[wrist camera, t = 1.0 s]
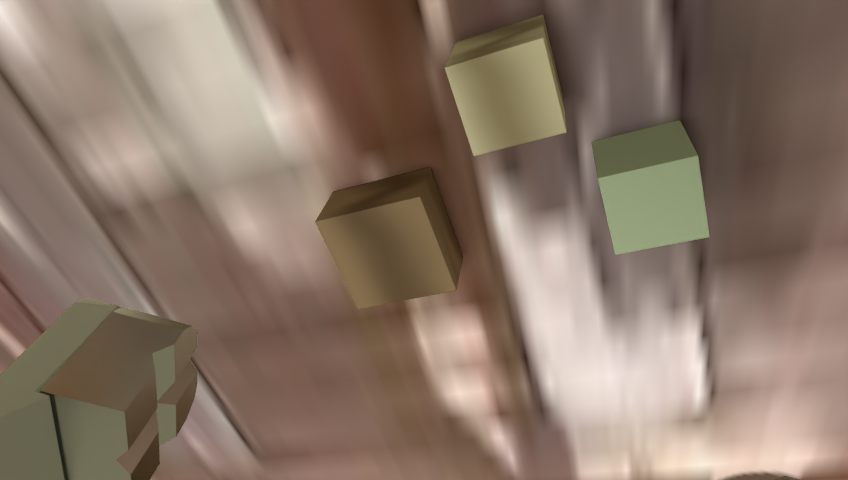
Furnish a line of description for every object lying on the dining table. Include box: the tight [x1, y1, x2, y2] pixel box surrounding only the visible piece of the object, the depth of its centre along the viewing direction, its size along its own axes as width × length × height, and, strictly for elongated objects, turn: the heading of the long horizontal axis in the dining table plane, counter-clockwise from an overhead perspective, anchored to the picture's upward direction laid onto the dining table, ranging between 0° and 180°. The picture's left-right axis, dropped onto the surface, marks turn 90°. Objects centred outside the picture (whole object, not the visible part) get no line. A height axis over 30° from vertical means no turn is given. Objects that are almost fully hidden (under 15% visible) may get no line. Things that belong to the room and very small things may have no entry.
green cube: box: [592, 120, 709, 255], centre depth 35 cm, size 5×5×5 cm
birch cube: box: [445, 15, 566, 156], centre depth 33 cm, size 5×5×5 cm
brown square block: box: [315, 167, 463, 309], centre depth 40 cm, size 7×7×4 cm
